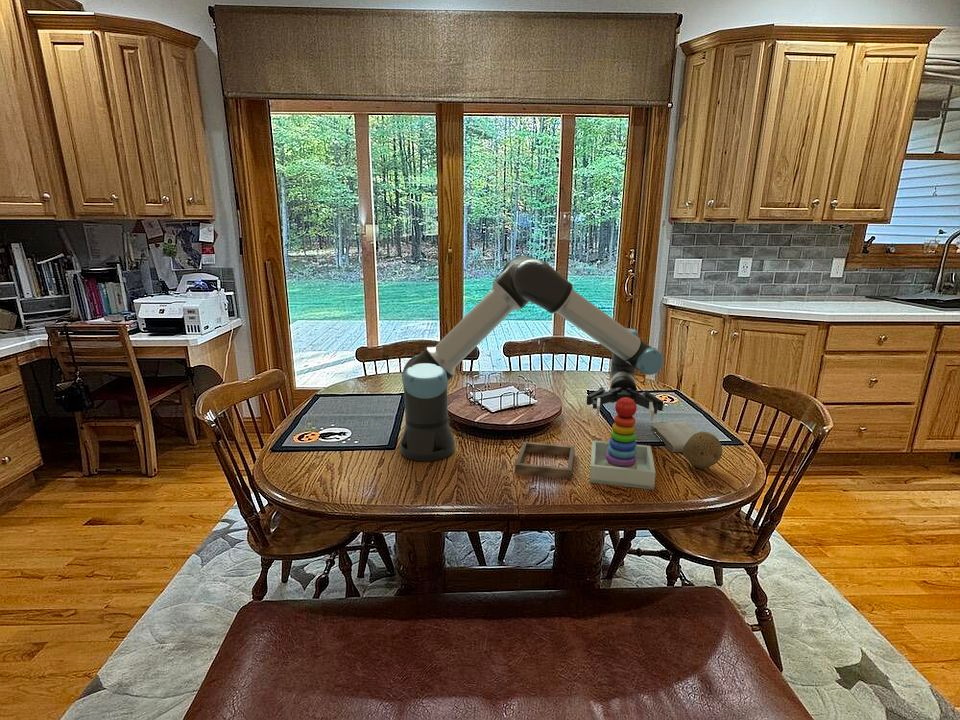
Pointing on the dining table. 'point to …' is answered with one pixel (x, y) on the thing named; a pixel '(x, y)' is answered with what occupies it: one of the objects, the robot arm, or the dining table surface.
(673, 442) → the washcloth
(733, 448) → the dining table surface
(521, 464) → the walnut holder
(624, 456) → the stacking toy
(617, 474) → the sage tray
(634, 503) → the dining table surface
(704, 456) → the natural sponge
